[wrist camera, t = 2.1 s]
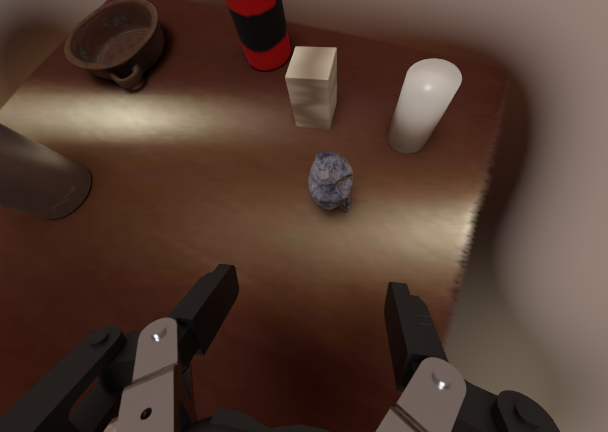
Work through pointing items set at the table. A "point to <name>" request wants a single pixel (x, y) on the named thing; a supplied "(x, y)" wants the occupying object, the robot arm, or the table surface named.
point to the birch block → (313, 86)
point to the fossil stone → (330, 181)
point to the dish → (117, 41)
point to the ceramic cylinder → (422, 103)
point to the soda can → (261, 31)
